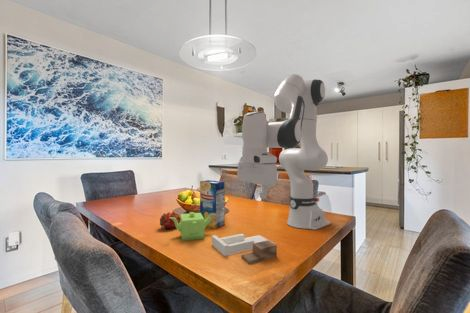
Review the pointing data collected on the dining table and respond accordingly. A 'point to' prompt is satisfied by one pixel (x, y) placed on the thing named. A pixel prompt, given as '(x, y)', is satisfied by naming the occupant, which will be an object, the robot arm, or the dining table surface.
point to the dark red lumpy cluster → (168, 220)
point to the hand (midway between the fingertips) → (255, 195)
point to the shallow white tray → (235, 243)
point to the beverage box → (213, 202)
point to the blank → (261, 252)
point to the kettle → (191, 226)
